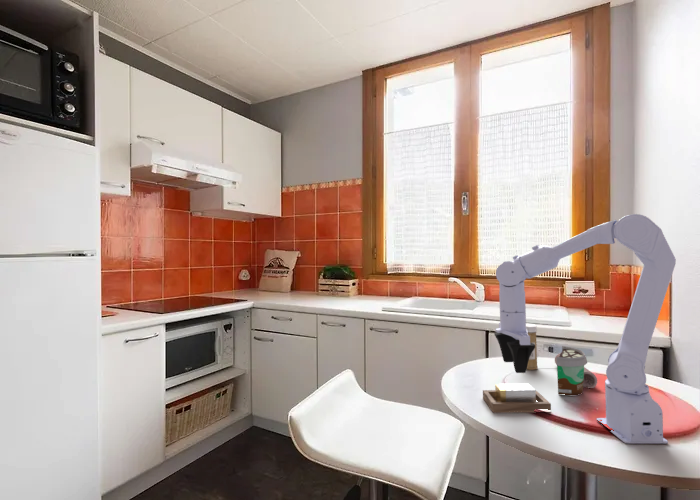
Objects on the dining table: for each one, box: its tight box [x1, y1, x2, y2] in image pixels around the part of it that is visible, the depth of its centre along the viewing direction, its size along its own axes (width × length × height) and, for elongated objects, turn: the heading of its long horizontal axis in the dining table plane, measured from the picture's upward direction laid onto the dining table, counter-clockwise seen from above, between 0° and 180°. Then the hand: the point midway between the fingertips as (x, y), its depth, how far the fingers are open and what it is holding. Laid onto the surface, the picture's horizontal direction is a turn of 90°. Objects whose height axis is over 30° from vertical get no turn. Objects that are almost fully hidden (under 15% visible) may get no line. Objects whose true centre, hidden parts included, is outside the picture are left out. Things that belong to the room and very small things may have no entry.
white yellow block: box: [494, 383, 537, 402], centre depth 88 cm, size 4×8×4 cm, turn 86°
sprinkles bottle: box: [526, 323, 538, 371], centre depth 113 cm, size 5×5×14 cm
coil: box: [554, 353, 598, 389], centre depth 105 cm, size 5×5×18 cm
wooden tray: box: [482, 389, 552, 414], centre depth 88 cm, size 8×13×2 cm, turn 86°
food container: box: [556, 345, 588, 396], centre depth 95 cm, size 12×6×10 cm, turn 144°
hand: (514, 366), depth 88 cm, fingers open, 7 cm apart
